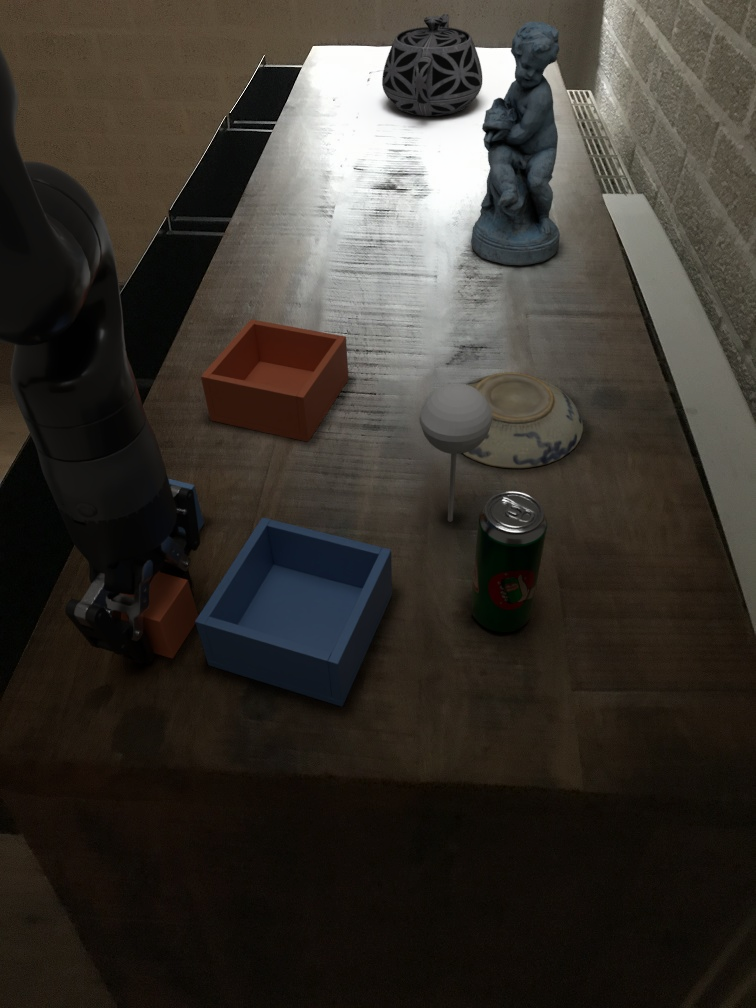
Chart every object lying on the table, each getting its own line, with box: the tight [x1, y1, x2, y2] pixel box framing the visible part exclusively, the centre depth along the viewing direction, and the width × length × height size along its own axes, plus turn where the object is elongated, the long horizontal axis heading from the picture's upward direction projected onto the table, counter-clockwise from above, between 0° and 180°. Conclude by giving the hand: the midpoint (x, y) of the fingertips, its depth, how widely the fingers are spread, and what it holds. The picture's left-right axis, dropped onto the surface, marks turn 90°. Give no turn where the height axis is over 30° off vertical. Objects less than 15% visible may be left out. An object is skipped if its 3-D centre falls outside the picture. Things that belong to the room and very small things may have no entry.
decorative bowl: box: [462, 371, 584, 470], centre depth 83 cm, size 15×4×15 cm
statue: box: [470, 21, 561, 266], centre depth 104 cm, size 12×23×27 cm, turn 0°
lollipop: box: [418, 382, 492, 523], centre depth 69 cm, size 6×6×15 cm
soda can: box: [470, 490, 548, 633], centre depth 63 cm, size 5×5×12 cm
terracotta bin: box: [200, 318, 349, 443], centre depth 86 cm, size 12×12×6 cm
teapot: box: [381, 13, 483, 117], centre depth 150 cm, size 19×31×15 cm, turn 168°
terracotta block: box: [120, 571, 199, 659], centre depth 64 cm, size 4×4×5 cm
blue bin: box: [195, 516, 393, 708], centre depth 64 cm, size 12×12×6 cm
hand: (162, 626), depth 66 cm, fingers open, 5 cm apart
